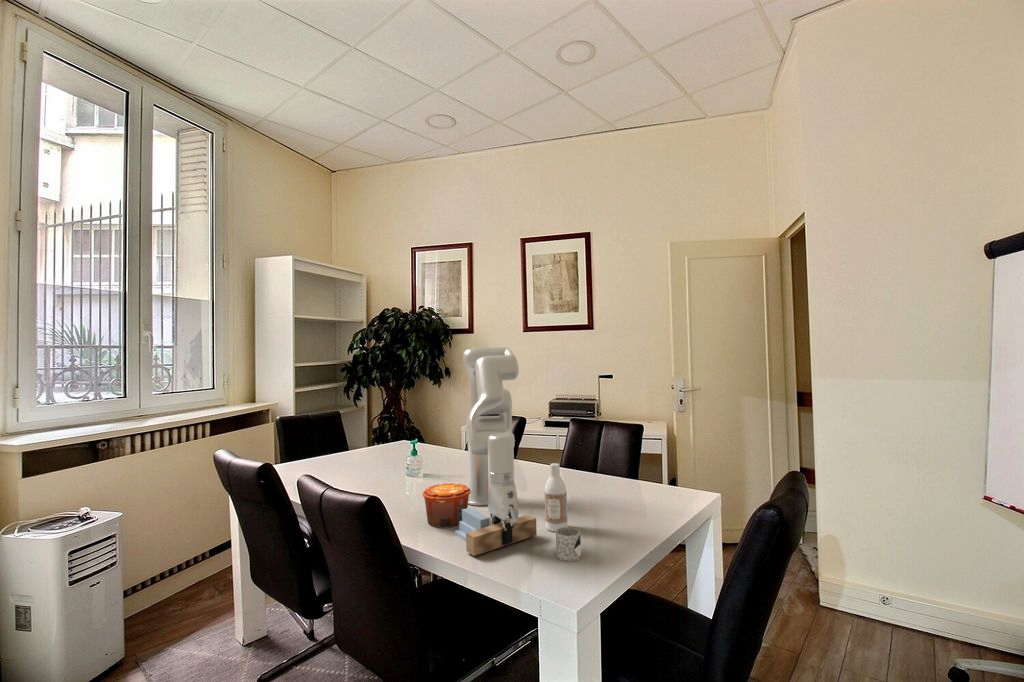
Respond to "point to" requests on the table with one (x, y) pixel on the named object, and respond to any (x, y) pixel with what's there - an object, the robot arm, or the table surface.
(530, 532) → the light brown wooden bar
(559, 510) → the bath foam
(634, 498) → the table surface
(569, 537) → the mug
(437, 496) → the food container
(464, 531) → the light blue stepped block
